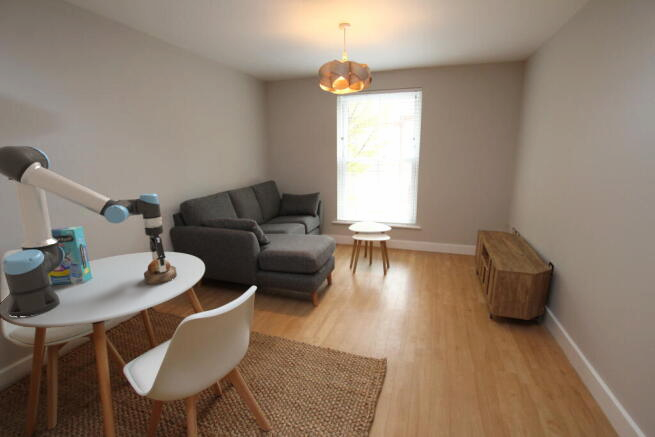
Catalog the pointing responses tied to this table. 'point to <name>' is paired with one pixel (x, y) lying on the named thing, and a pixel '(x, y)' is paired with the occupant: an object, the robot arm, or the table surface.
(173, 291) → the table surface
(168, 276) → the walnut stand
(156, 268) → the bread roll
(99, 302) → the table surface
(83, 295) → the table surface
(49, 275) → the game box
